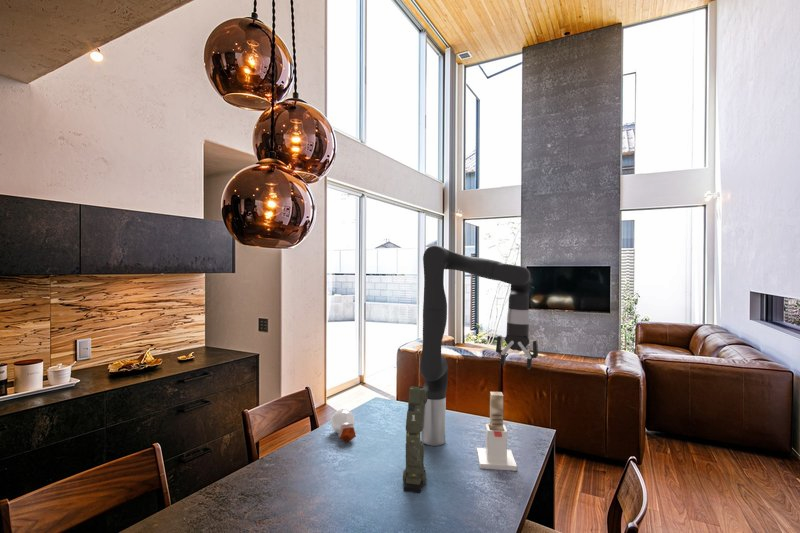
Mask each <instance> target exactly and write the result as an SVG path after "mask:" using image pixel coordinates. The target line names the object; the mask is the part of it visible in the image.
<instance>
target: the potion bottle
mask: <svg viewBox="0 0 800 533" xmlns="http://www.w3.org/2000/svg"><path fill="white" fill-rule="evenodd" d="M355 420H356V419H355V416H354V413H353V412H351V411H350V410H349V409H344V408H340V409H338V410H336V411H335V412H334V414H333V415H331V419H330V425H331V428H332V430H333V431H334V433H336V434H337V436H338V437H339V439H340V440H341V441H343V442H345V443H347V444H348V443H350V442H351V441H352V440H354V439H355V438H356V435H357V432H356V430H355Z"/></svg>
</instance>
